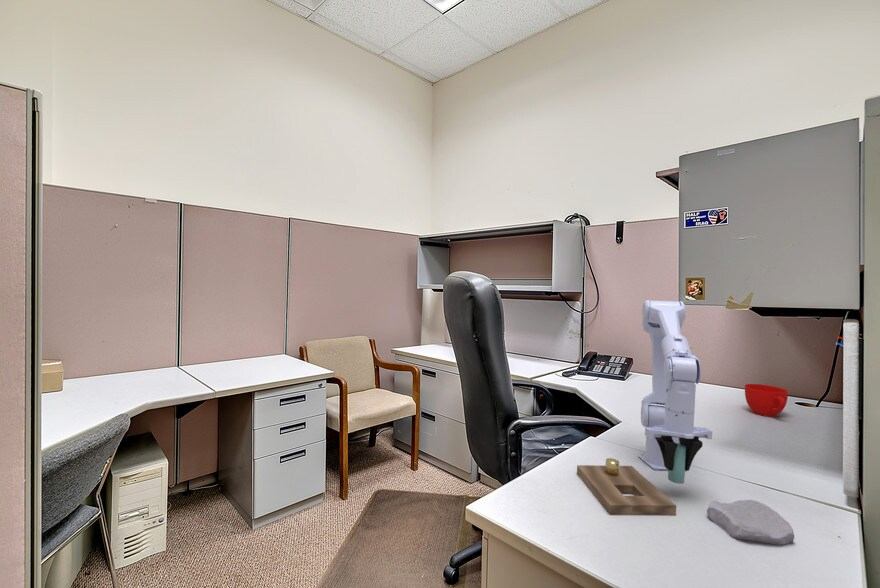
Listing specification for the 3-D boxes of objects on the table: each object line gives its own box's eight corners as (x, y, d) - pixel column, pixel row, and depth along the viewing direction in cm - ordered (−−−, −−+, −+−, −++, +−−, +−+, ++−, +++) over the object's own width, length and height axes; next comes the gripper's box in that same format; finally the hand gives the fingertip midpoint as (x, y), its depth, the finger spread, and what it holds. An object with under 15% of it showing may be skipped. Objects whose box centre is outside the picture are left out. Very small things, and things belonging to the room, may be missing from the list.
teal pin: (678, 476, 94) (680, 442, 93) (687, 483, 91) (689, 448, 90) (665, 476, 94) (666, 442, 93) (673, 483, 90) (675, 448, 90)
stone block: (799, 554, 76) (756, 513, 85) (805, 533, 74) (760, 494, 84) (738, 557, 75) (702, 515, 85) (743, 535, 74) (705, 496, 84)
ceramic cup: (762, 421, 146) (763, 394, 145) (736, 407, 162) (737, 382, 162) (802, 424, 144) (804, 397, 143) (772, 410, 160) (774, 385, 160)
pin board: (631, 473, 102) (632, 454, 102) (675, 515, 84) (677, 491, 84) (576, 473, 101) (577, 453, 101) (609, 514, 83) (610, 490, 83)
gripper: (658, 415, 87) (655, 476, 88) (723, 416, 88) (720, 477, 88) (641, 405, 94) (638, 462, 95) (701, 406, 95) (698, 462, 95)
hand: (676, 468), depth 92 cm, fingers closed on teal pin, 3 cm apart
